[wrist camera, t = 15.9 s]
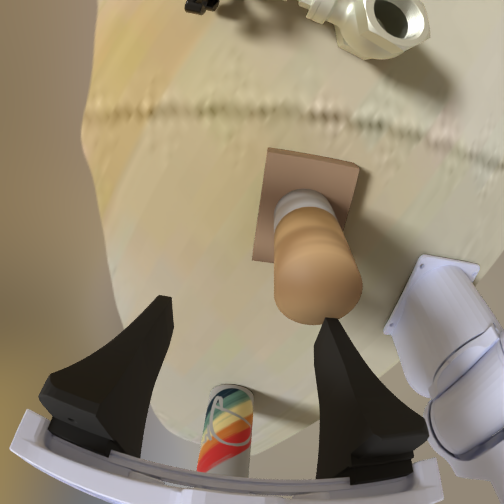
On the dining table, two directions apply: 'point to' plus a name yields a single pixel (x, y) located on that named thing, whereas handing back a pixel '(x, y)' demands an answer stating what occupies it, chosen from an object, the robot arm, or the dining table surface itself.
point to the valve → (361, 23)
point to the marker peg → (312, 260)
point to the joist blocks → (300, 177)
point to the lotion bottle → (227, 432)
